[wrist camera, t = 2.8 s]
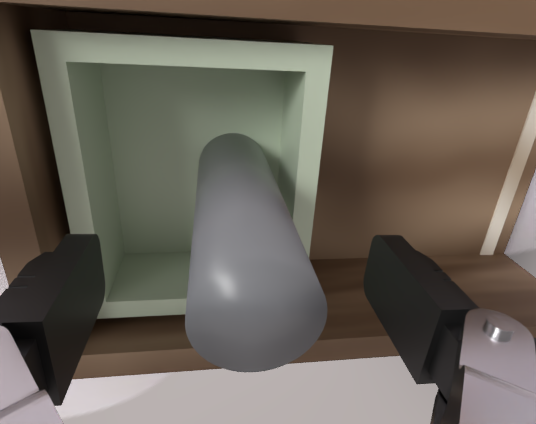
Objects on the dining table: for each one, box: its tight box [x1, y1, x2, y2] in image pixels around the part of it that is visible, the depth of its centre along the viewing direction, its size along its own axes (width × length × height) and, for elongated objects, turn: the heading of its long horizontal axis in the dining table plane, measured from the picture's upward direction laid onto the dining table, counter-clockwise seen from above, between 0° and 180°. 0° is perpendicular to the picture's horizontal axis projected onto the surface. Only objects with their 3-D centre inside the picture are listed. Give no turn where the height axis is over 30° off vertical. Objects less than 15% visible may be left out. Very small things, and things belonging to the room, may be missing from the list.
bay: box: [0, 0, 536, 379], centre depth 16 cm, size 14×24×7 cm, turn 87°
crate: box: [30, 29, 333, 372], centre depth 12 cm, size 10×9×11 cm
